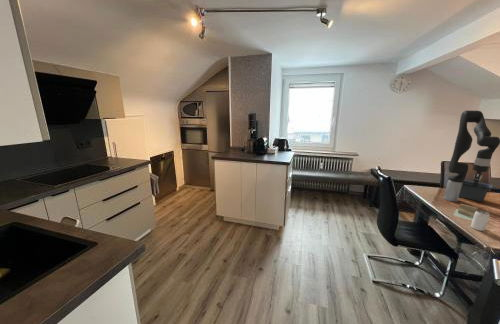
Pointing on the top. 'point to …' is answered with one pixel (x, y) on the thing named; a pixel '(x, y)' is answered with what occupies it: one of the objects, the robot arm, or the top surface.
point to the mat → (462, 215)
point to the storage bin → (474, 190)
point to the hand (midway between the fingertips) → (475, 185)
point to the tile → (467, 210)
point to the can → (480, 220)
